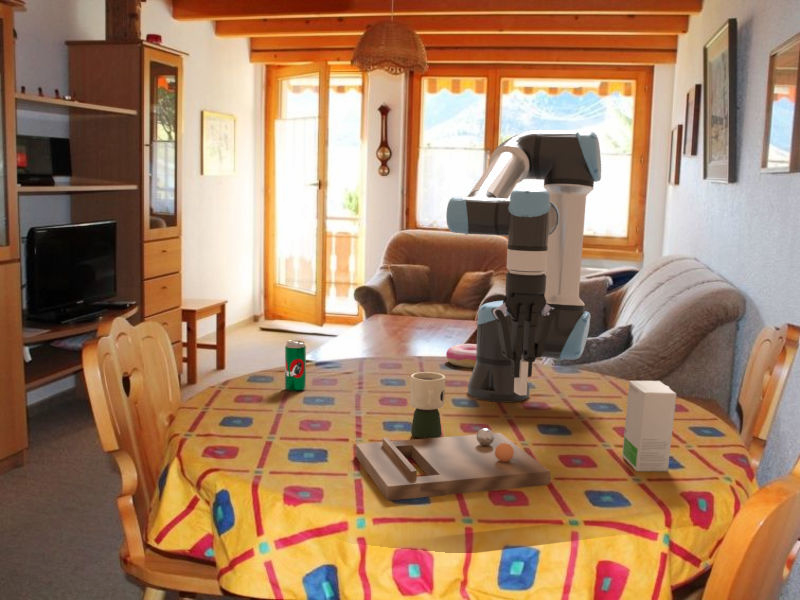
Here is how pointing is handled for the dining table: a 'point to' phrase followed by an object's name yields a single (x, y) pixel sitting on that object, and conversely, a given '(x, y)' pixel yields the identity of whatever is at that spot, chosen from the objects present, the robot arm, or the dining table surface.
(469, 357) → the donut
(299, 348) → the soda can
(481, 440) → the steel ball
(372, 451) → the walnut board
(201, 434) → the dining table surface
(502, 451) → the rust ball
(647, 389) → the skincare box
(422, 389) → the character mug
